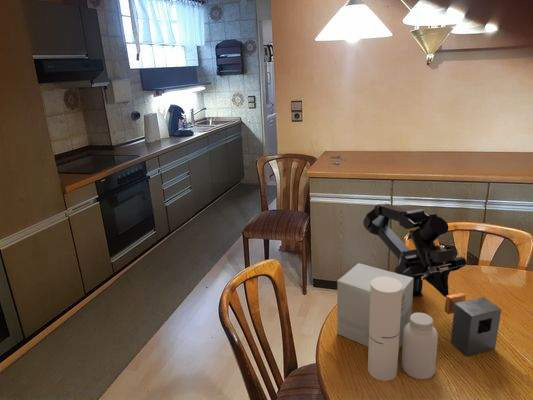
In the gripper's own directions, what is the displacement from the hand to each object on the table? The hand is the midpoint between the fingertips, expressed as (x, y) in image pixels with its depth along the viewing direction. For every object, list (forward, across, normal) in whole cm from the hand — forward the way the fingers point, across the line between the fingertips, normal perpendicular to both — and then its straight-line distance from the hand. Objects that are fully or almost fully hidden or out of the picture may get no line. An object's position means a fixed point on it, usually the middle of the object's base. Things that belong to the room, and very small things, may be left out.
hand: (446, 296), depth 115 cm
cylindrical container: (+15, -28, -2) cm, 31 cm away
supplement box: (+5, -22, +8) cm, 24 cm away
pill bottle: (+16, -19, -4) cm, 25 cm away
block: (+14, 0, -2) cm, 14 cm away
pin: (+7, 0, -3) cm, 7 cm away
